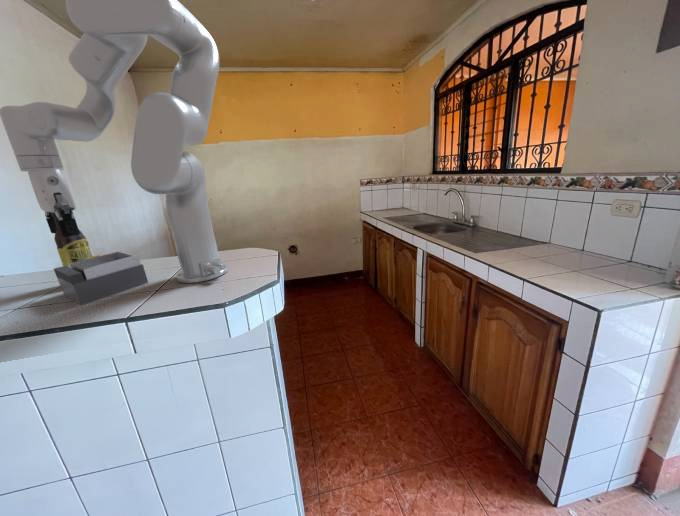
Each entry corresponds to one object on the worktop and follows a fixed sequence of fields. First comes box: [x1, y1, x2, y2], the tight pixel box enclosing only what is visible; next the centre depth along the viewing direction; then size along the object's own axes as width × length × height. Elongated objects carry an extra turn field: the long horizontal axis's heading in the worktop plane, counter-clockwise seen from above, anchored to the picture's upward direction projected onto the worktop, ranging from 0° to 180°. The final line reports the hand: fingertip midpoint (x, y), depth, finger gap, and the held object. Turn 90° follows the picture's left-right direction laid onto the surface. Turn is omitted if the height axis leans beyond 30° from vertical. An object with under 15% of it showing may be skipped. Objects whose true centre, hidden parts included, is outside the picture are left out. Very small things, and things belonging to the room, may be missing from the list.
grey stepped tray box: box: [53, 250, 149, 306], centre depth 72 cm, size 12×14×8 cm
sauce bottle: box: [51, 211, 93, 267], centre depth 76 cm, size 7×6×20 cm
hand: (65, 233), depth 75 cm, fingers open, 9 cm apart
